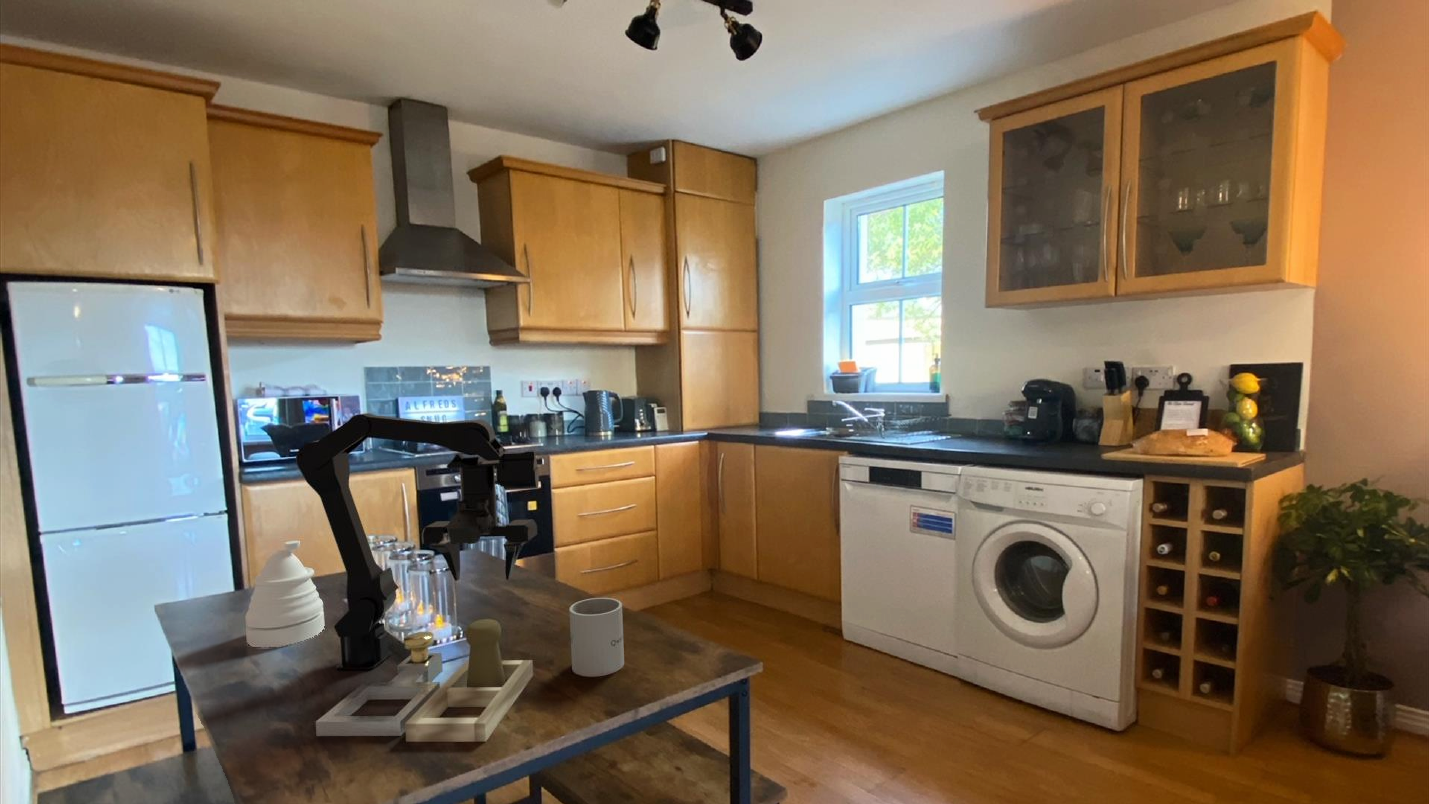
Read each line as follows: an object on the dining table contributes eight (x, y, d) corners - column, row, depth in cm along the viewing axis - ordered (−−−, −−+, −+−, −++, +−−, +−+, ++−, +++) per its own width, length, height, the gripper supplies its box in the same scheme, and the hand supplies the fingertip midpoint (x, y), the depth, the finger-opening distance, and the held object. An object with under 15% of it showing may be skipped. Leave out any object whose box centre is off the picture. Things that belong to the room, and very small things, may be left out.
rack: (406, 741, 94) (405, 723, 94) (467, 675, 114) (466, 660, 114) (485, 741, 93) (485, 723, 93) (533, 675, 113) (532, 660, 113)
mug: (606, 679, 111) (604, 618, 110) (561, 672, 114) (559, 612, 114) (643, 649, 122) (641, 593, 122) (601, 643, 125) (599, 589, 125)
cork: (494, 702, 104) (490, 630, 104) (457, 699, 106) (454, 628, 105) (513, 683, 110) (510, 615, 110) (479, 681, 112) (475, 614, 111)
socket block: (316, 735, 96) (315, 714, 96) (393, 671, 117) (392, 653, 116) (400, 735, 96) (399, 714, 95) (463, 670, 116) (462, 652, 116)
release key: (400, 680, 112) (398, 642, 111) (414, 668, 116) (412, 631, 116) (427, 680, 111) (425, 642, 111) (439, 668, 116) (437, 631, 116)
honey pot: (330, 619, 143) (325, 532, 142) (316, 642, 131) (310, 547, 130) (258, 628, 139) (252, 539, 138) (237, 653, 127) (230, 555, 126)
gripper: (403, 502, 114) (408, 595, 115) (514, 499, 113) (519, 594, 114) (434, 490, 126) (438, 575, 126) (536, 487, 124) (540, 573, 125)
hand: (482, 579), depth 123 cm, fingers open, 9 cm apart
